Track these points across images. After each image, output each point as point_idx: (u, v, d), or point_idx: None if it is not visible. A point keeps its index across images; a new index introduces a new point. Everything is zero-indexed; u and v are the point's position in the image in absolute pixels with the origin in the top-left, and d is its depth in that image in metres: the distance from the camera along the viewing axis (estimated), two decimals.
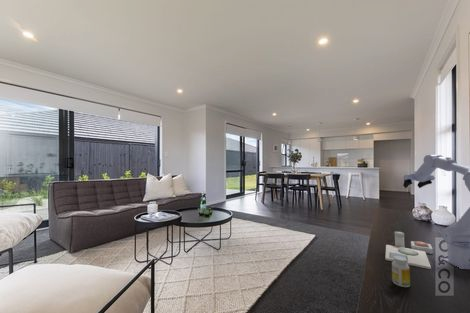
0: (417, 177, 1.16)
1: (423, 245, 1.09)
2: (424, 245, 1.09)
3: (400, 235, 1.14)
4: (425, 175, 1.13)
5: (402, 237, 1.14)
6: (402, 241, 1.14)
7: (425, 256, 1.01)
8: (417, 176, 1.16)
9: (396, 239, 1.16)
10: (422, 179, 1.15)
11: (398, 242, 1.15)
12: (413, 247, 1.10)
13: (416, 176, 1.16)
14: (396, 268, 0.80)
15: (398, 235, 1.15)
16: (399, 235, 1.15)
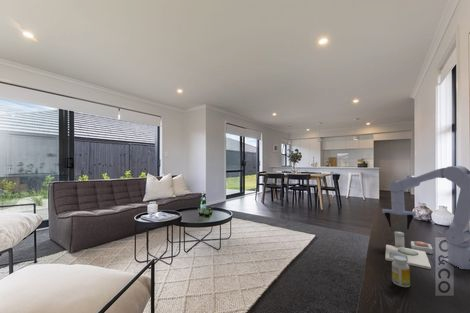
0: (392, 208, 1.17)
1: (423, 245, 1.09)
2: (424, 245, 1.09)
3: (400, 235, 1.14)
4: (396, 203, 1.15)
5: (402, 237, 1.14)
6: (402, 241, 1.14)
7: (425, 256, 1.01)
8: (392, 207, 1.17)
9: (396, 239, 1.16)
10: (396, 209, 1.15)
11: (398, 242, 1.15)
12: (413, 247, 1.10)
13: (392, 208, 1.18)
14: (396, 268, 0.80)
15: (398, 235, 1.15)
16: (399, 235, 1.15)
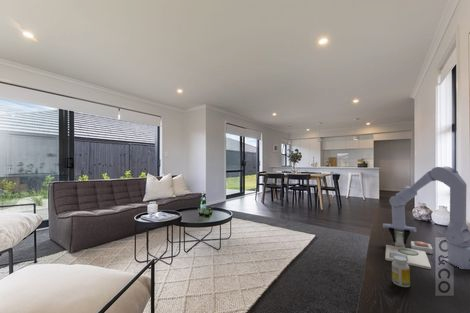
0: (393, 223, 1.17)
1: (423, 245, 1.09)
2: (424, 245, 1.09)
3: (400, 235, 1.14)
4: (396, 218, 1.15)
5: (402, 237, 1.14)
6: (402, 241, 1.14)
7: (425, 256, 1.01)
8: (392, 222, 1.17)
9: (396, 239, 1.16)
10: (397, 224, 1.15)
11: (398, 242, 1.15)
12: (413, 247, 1.10)
13: (392, 223, 1.17)
14: (396, 268, 0.80)
15: (398, 235, 1.15)
16: (399, 235, 1.15)
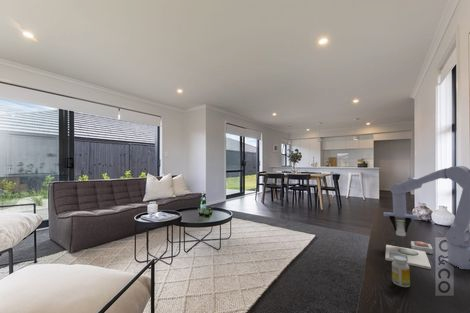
0: (394, 211, 1.15)
1: (423, 245, 1.09)
2: (424, 245, 1.09)
3: (401, 223, 1.13)
4: (397, 206, 1.13)
5: (403, 225, 1.13)
6: (403, 229, 1.13)
7: (425, 256, 1.01)
8: (393, 210, 1.16)
9: (397, 227, 1.14)
10: (398, 212, 1.13)
11: (399, 230, 1.13)
12: (413, 247, 1.10)
13: (393, 211, 1.16)
14: (396, 268, 0.80)
15: (399, 223, 1.13)
16: (400, 223, 1.13)
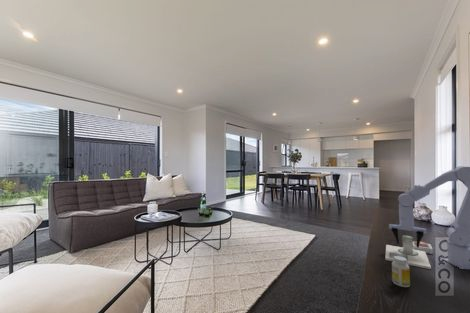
0: (400, 224, 1.07)
1: (423, 245, 1.09)
2: (424, 245, 1.09)
3: (408, 239, 1.04)
4: (404, 218, 1.05)
5: (411, 242, 1.04)
6: (411, 246, 1.04)
7: (425, 256, 1.01)
8: (400, 223, 1.07)
9: (404, 244, 1.06)
10: (405, 225, 1.05)
11: (406, 247, 1.05)
12: (413, 247, 1.10)
13: None
14: (396, 268, 0.80)
15: (406, 239, 1.05)
16: (407, 239, 1.05)
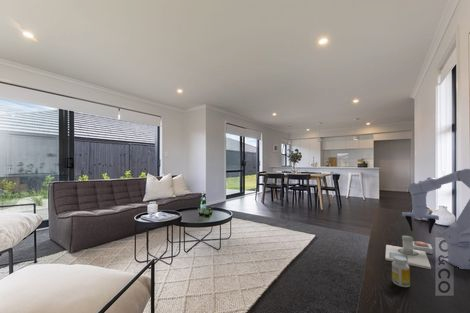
0: (413, 211, 1.13)
1: (423, 245, 1.09)
2: (424, 245, 1.09)
3: (408, 239, 1.04)
4: (417, 206, 1.11)
5: (411, 242, 1.04)
6: (411, 246, 1.04)
7: (425, 256, 1.01)
8: (413, 210, 1.13)
9: (404, 244, 1.06)
10: (418, 212, 1.10)
11: (406, 247, 1.05)
12: (413, 247, 1.10)
13: None
14: (396, 268, 0.80)
15: (406, 239, 1.05)
16: (407, 239, 1.05)
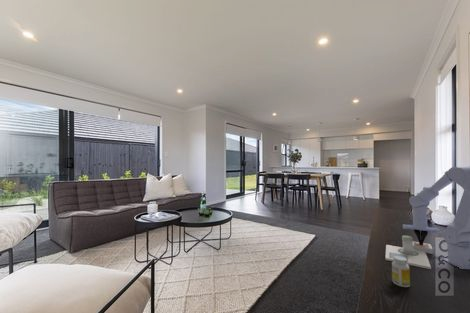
0: (414, 224, 1.12)
1: None
2: None
3: (408, 239, 1.05)
4: (418, 219, 1.10)
5: (411, 242, 1.04)
6: (411, 246, 1.04)
7: (425, 256, 1.01)
8: (413, 223, 1.13)
9: (404, 244, 1.06)
10: (419, 225, 1.10)
11: (406, 247, 1.05)
12: (413, 247, 1.10)
13: (413, 224, 1.13)
14: (396, 268, 0.80)
15: (406, 239, 1.05)
16: (407, 239, 1.05)
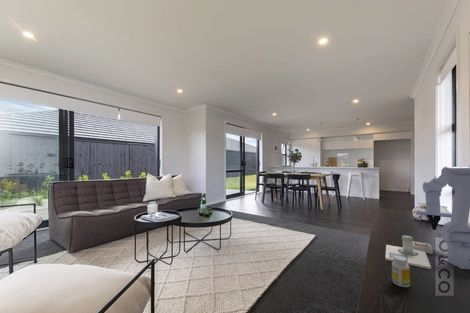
0: (427, 210, 1.16)
1: None
2: None
3: (408, 239, 1.04)
4: (431, 204, 1.14)
5: (411, 242, 1.04)
6: (411, 246, 1.04)
7: (425, 256, 1.01)
8: (427, 209, 1.16)
9: (404, 244, 1.06)
10: (432, 211, 1.14)
11: (406, 247, 1.05)
12: (413, 247, 1.10)
13: (426, 209, 1.16)
14: (396, 268, 0.80)
15: (406, 239, 1.05)
16: (407, 239, 1.05)
